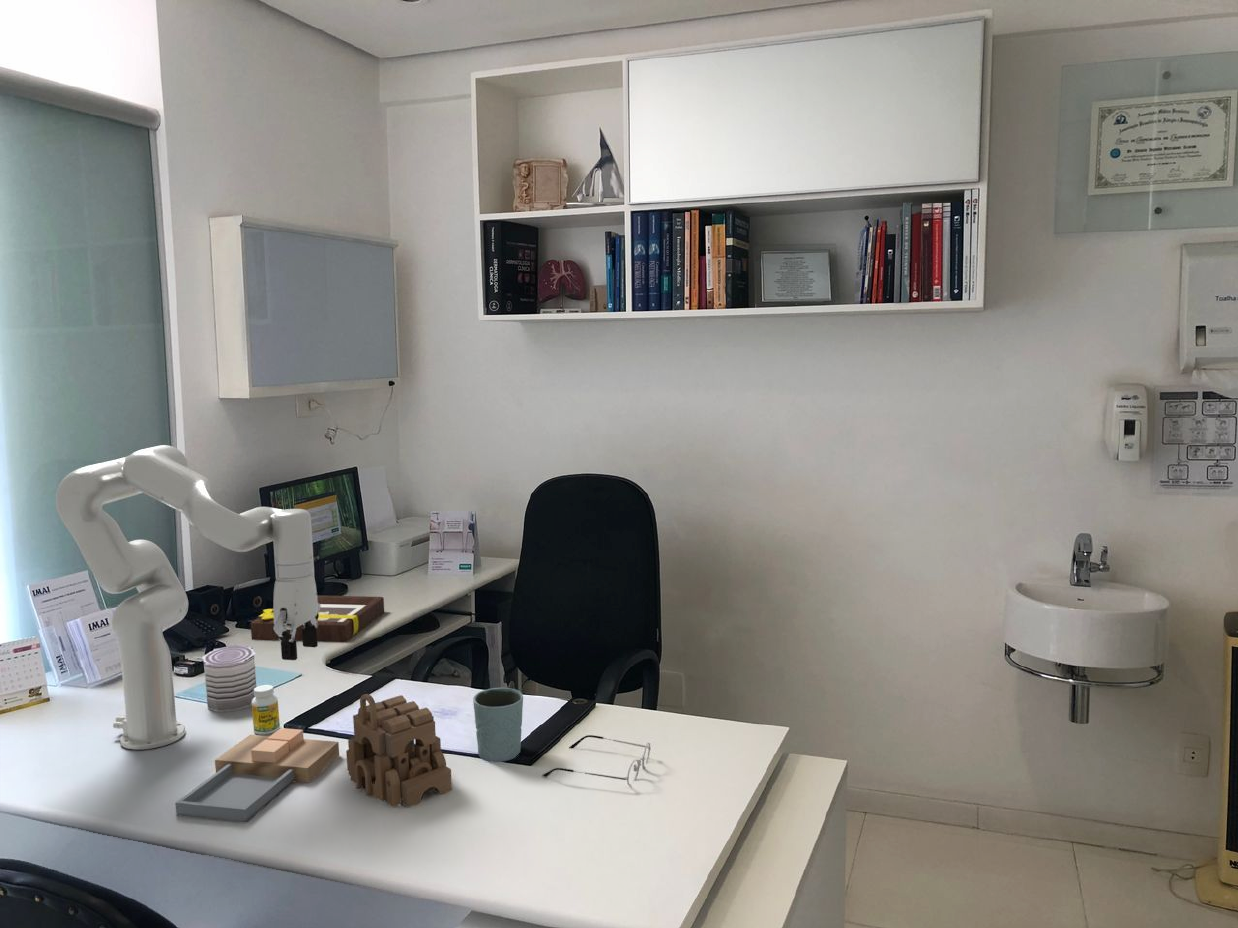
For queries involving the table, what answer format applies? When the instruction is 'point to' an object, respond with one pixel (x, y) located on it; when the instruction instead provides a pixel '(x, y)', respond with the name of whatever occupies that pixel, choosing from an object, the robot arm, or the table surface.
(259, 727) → the supplement bottle
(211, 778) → the tray
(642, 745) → the eyeglasses
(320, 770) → the board
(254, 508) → the robot arm
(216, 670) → the can
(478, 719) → the green cup
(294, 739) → the tile rear
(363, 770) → the wooden puzzle
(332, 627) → the picture frame
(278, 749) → the tile front
